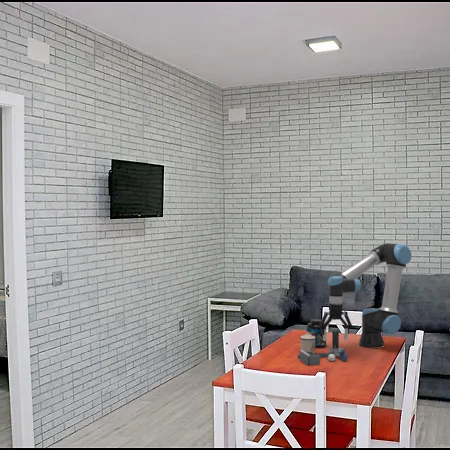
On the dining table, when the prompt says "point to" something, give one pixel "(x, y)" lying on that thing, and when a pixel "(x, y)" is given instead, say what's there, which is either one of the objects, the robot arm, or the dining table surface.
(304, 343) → the teacup with lid
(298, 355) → the rail
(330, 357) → the ball
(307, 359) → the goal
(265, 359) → the dining table surface
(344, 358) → the kicker
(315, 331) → the container
